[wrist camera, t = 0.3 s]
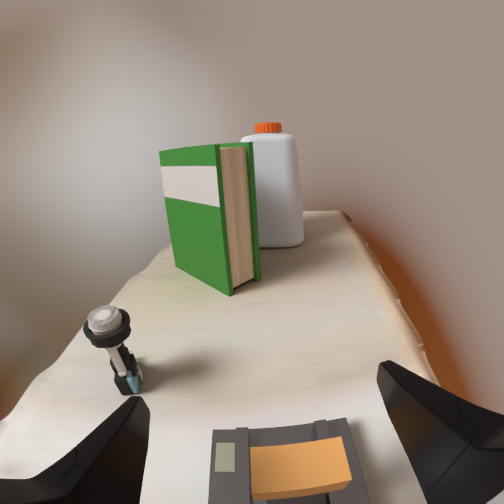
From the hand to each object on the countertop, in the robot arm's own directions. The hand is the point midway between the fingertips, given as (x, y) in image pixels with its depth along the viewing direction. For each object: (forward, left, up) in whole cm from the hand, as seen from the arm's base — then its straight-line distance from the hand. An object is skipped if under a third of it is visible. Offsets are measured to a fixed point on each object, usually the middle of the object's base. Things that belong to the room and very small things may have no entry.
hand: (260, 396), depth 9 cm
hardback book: (+42, +7, -17) cm, 46 cm away
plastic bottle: (+59, -6, -17) cm, 61 cm away
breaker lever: (-1, -2, -14) cm, 14 cm away
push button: (+15, +15, -17) cm, 27 cm away
